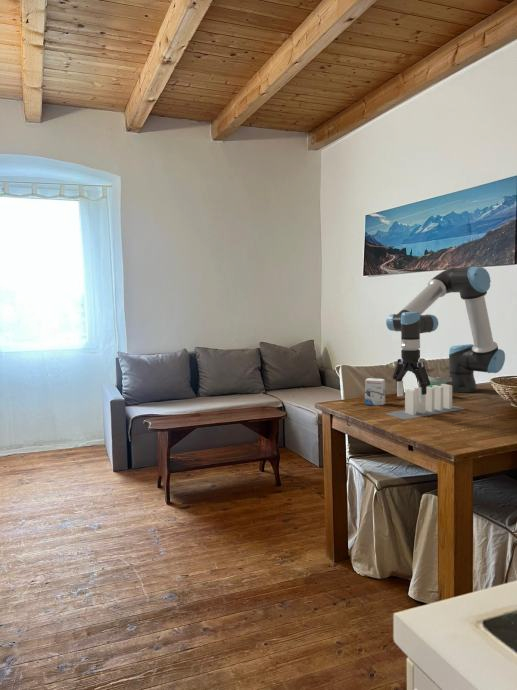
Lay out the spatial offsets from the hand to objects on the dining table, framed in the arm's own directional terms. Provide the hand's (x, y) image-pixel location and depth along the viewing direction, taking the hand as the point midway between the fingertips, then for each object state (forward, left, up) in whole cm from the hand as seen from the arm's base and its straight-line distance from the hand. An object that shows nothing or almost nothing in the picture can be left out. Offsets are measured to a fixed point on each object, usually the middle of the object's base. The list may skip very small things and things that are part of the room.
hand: (411, 399), depth 220 cm
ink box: (0, -24, -7) cm, 25 cm away
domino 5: (-20, 0, -6) cm, 21 cm away
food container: (-34, -20, -7) cm, 40 cm away
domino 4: (-15, 0, -6) cm, 16 cm away
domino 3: (-10, 0, -6) cm, 12 cm away
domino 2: (-5, 0, -6) cm, 8 cm away
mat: (-8, 0, -7) cm, 10 cm away
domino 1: (0, 0, -6) cm, 6 cm away
